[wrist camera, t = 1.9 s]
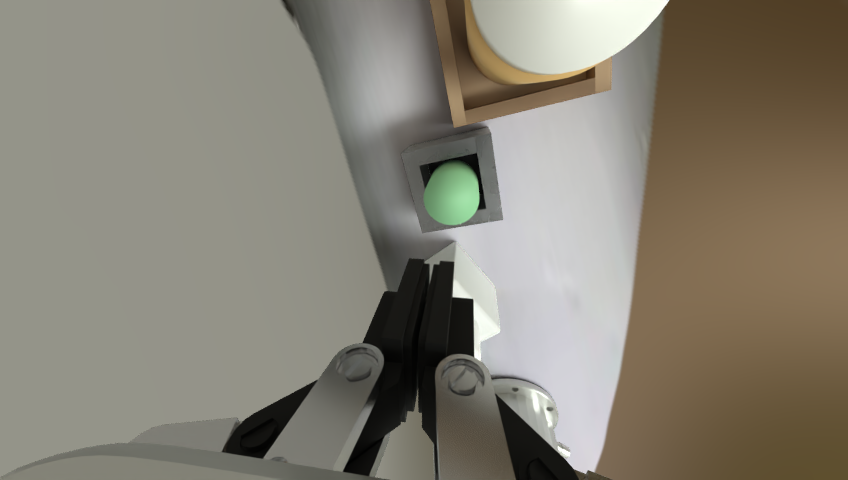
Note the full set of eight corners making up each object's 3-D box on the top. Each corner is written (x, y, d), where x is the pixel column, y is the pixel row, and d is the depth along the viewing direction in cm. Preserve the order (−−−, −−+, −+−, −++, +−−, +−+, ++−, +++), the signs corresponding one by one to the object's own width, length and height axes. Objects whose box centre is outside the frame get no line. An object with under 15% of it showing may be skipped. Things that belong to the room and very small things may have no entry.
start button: (481, 202, 25) (483, 220, 22) (436, 210, 26) (430, 229, 23) (473, 155, 24) (474, 166, 20) (425, 165, 25) (417, 178, 21)
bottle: (592, 6, 20) (776, -120, 8) (523, 104, 23) (580, 119, 11) (508, -60, 19) (571, -316, 7) (448, 50, 22) (422, 3, 10)
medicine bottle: (445, 314, 35) (434, 411, 25) (405, 273, 33) (374, 358, 23) (496, 286, 32) (508, 381, 22) (455, 239, 31) (447, 318, 20)
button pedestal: (499, 203, 28) (503, 219, 25) (427, 216, 30) (422, 233, 26) (487, 126, 25) (490, 132, 22) (410, 145, 27) (400, 153, 23)
